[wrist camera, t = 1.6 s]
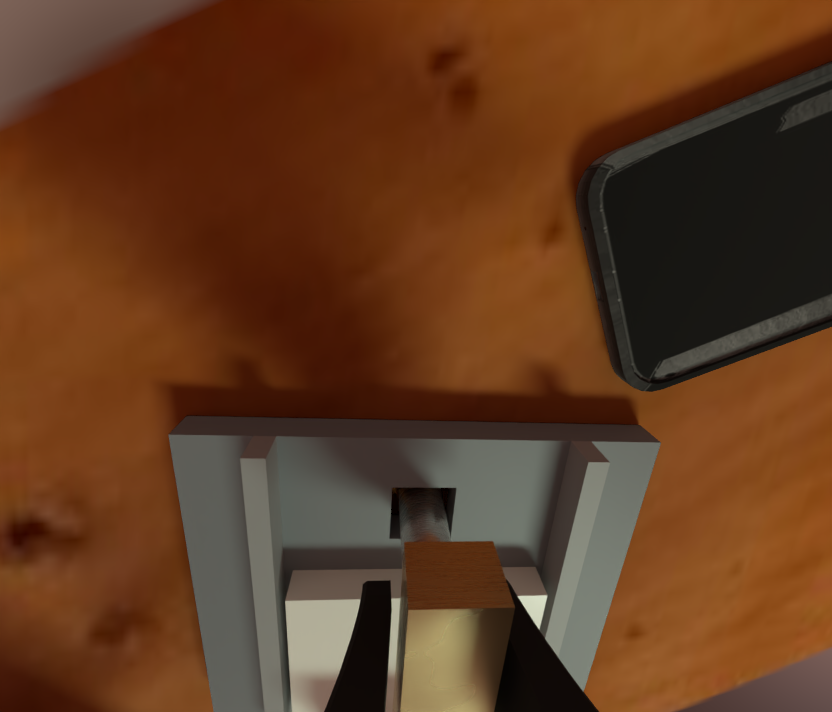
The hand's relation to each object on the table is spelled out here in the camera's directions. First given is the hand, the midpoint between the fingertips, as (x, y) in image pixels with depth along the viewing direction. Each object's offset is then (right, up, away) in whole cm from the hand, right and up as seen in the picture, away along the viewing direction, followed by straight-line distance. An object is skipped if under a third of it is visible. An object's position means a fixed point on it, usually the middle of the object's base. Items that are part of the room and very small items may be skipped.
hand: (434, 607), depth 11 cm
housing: (-1, -2, +6) cm, 6 cm away
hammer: (0, +2, +4) cm, 5 cm away
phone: (+12, +12, +2) cm, 17 cm away
